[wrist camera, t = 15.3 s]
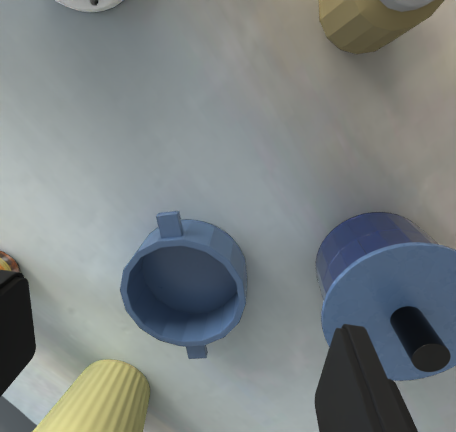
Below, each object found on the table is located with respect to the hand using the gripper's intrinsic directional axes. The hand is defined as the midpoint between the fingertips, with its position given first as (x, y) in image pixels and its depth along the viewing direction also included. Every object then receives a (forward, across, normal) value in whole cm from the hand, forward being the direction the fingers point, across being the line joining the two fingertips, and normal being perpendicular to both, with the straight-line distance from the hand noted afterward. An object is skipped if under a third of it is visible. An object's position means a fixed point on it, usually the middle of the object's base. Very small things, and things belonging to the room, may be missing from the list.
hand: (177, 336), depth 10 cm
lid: (+20, -19, +12) cm, 30 cm away
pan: (+30, +4, +17) cm, 35 cm away
